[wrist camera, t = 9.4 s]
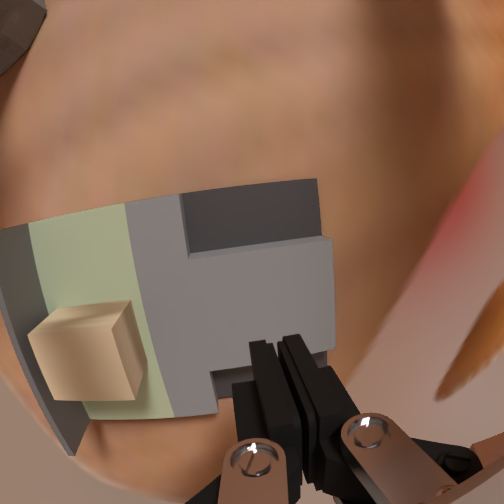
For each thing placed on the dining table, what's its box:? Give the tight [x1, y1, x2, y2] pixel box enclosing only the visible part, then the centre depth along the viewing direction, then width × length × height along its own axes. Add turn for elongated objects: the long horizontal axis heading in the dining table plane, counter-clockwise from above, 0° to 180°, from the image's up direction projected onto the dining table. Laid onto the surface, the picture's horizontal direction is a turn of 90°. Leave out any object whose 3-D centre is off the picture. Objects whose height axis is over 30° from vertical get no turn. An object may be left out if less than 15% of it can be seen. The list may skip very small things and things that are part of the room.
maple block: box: [27, 299, 147, 401], centre depth 15 cm, size 5×4×4 cm
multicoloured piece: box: [0, 178, 336, 456], centre depth 16 cm, size 18×14×6 cm
